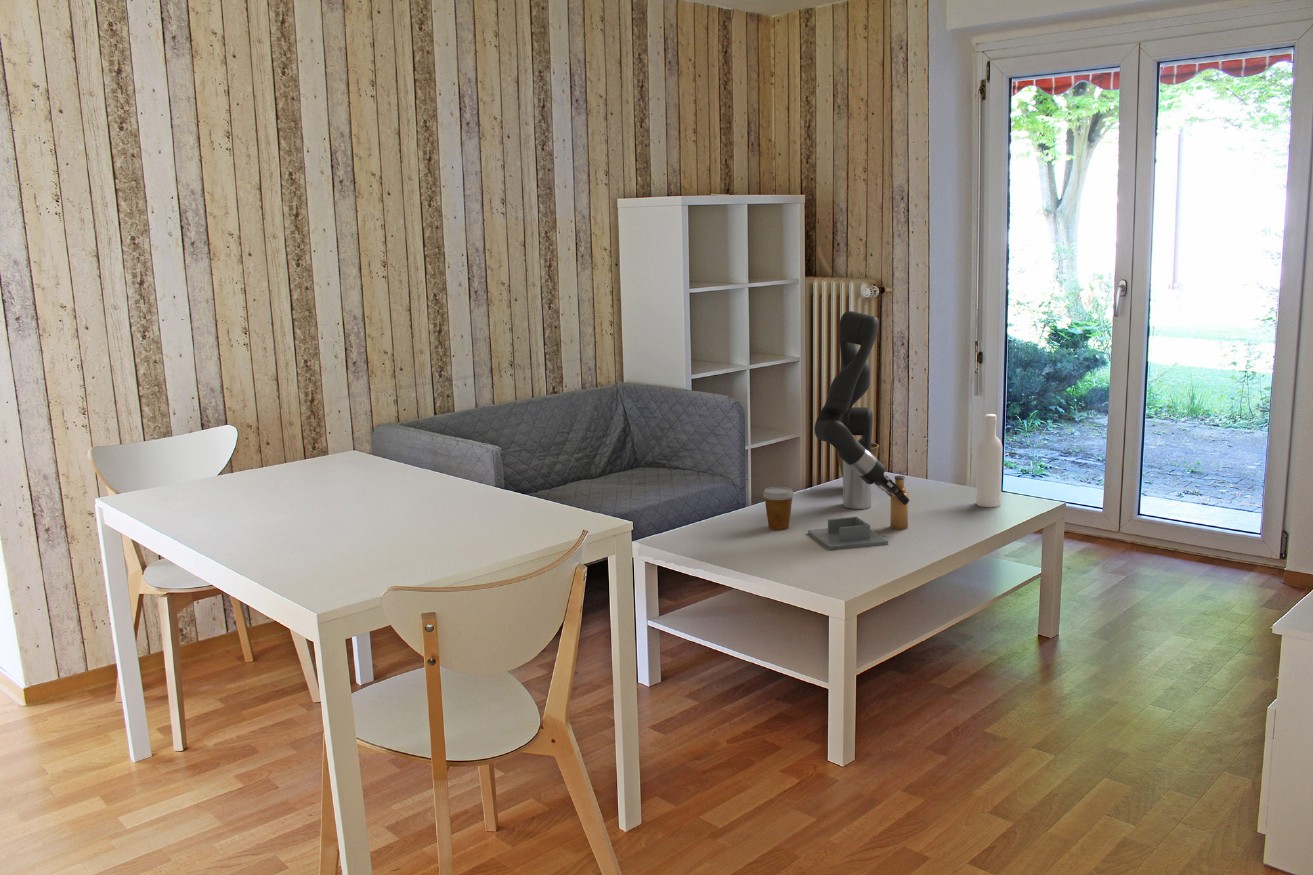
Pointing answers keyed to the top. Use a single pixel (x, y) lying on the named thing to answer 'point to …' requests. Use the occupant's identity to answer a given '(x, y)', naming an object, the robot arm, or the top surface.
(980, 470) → the bottle
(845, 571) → the top surface
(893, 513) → the bottle
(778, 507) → the disposable coffee cup
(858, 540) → the u rest
